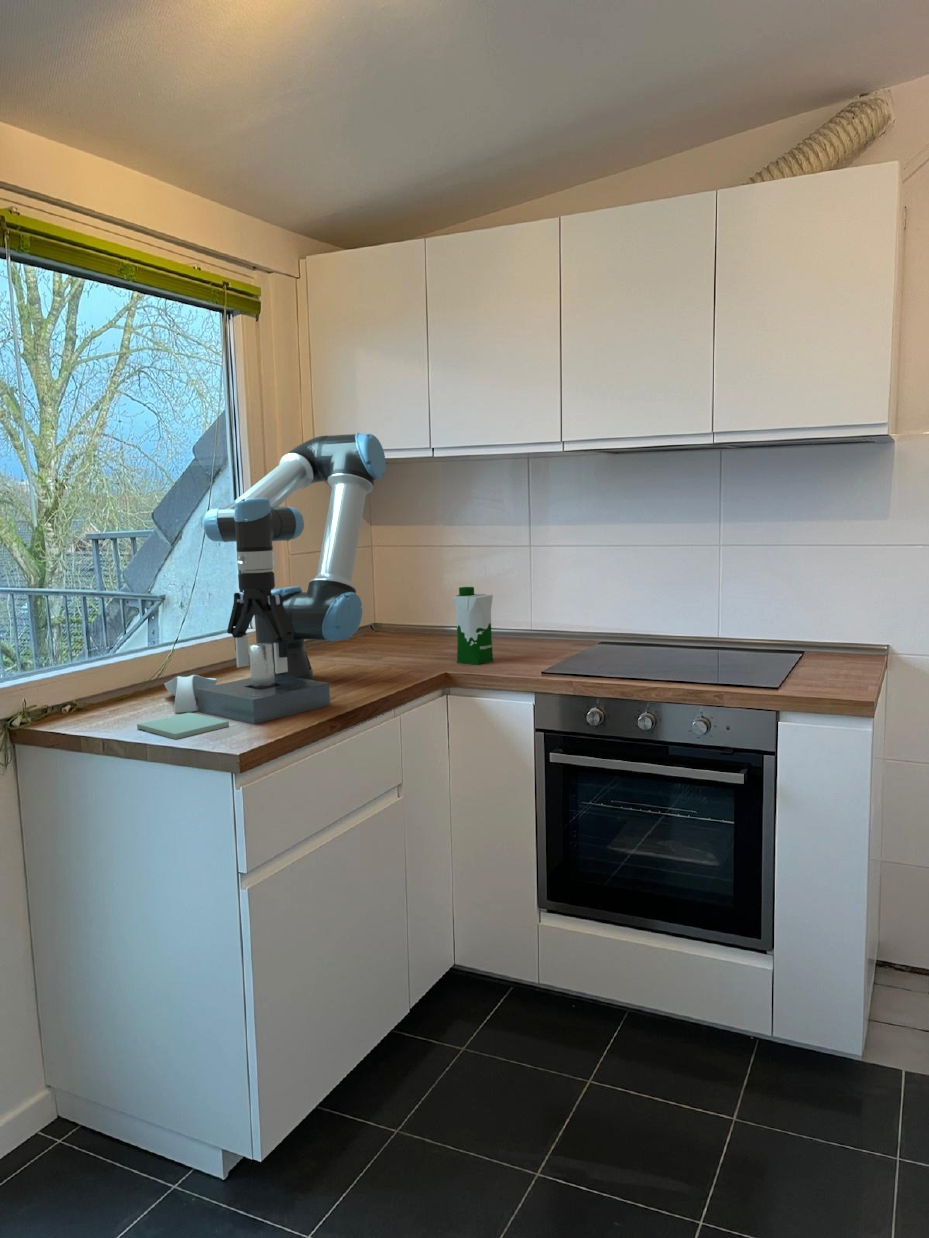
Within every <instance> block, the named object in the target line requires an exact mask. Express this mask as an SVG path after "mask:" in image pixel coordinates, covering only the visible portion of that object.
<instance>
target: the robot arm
mask: <svg viewBox="0 0 929 1238" xmlns="http://www.w3.org/2000/svg"><path fill="white" fill-rule="evenodd" d="M386 462H387V461H386V456H385V451H384V448H383V445H382V443H381V441H380V440H379V439H378V437H376V436H375V435H374V434H372V433H360V432H356V433H354V434H352V433H351V434H334V435H333V434H332V435H320V436H316V437H313V438H311V439H308V440H306V441H304V442H303V443H299V445H297V446H296V447H294V448H292V449H291V450H290V451H288V452H287V453H286V454H284V455H283V456H282V457H280V460H279V464H278V465H277V466H275V468H274V469H272V470H271V471H270V472H268V473H267V474H266V475H265V476H264V477H262V478H261V479H260V480H258V481H257V482H256V483H255V484H254V485H253V486H251V487H250V488H249V489H248V490H246V491H245V492H244V493H242V494H241V495H240V496H239V497H237V498H236V499H235V500H234V501H233V502H231V503H229V504H228V505H227V506H226V507H222V508H221V507H217V508H212V509H209V510H208V511H207V512H206V513H205V515H204V517H203V523H202V524H203V526H202V527H203V530H204V533H205V535H206V537H207V539H209V540H210V541H212V542H220V543H221V542H222V543H229V542H232V543H234V542H236V555H237V558H236V559H237V569H238V570H239V571H240V572H238V574H237V576H238V577H237V581H238V589H239V590H240V591H241V592H240V591H239V592H235V593H233V605H232V610H231V613H230V617H229V621H228V626H227V630H226V633H227V634H229V635H230V634H231V636H232V637H233V638H234V639H233V640H234V650H235V658H236V661H235V662H236V668H243V667H250V658H249V639H248V633H247V631H248V629H249V627H250V625H251V622H252V620H253V618H254V628H255V639H256V641H255V642H256V643H272V644H273V660H274V674H278V675H284V676H290V677H297V678H303V679H309V680H314V670H313V667H312V665H311V663H310V660H309V657H308V654H307V651H306V648H305V641H306V640H307V641H308V640H309V641H328V642H335V641H336V642H337V641H347V640H349V639H350V638H352V636H354V635H355V634H356V632H357V631H358V629H359V628H360V625H361V621H362V617H363V608H362V606H363V604H362V600H361V598H360V596H359V595H358V594H357V589H356V587H355V586H354V584H353V583H352V580H353V575H354V568H355V561H356V556H357V549H358V545H359V544H358V543H359V539H360V534H361V533H360V532H361V526H362V520H363V513H364V508H365V501H366V496H367V495H368V494H369V493H371V492H373V490H374V484H375V481H379V480H382V479H383V477H384V476H385V474H386V471H387V470H386V469H387V468H386V467H387V465H386ZM320 482H327V484H328V485H329V486H330V488H331V493H330V499H329V505H328V510H327V515H326V520H325V521H326V522H325V527H324V532H323V539H322V543H321V548H320V555H319V560H318V564H317V572H316V576H315V577H313V578H312V579H311V580H309V582H308V585H307V591H304V592H303V590H302V587H301V586H299V585H296V586H295V585H294V586H288V587H282V588H281V587H280V588H275V587H276V581H275V580H276V579H275V573H274V571H273V569H274V568H275V561H274V560H275V559H274V547H273V542H280V541H281V542H282V541H287V542H288V541H290V540H295V539H297V538H299V537H300V536H301V535H302V533H303V531H304V528H305V520H304V516H303V513H301V511H300V510H298V509H297V508H295V507H292V506H288V505H283V506H282V504H283V503H284V502H286V501H287V500H288V499H289V498H290V497H291V496H293V495H294V494H295V493H296V492H297V491H298V490H299V489H300V490H301V489H306V488H308V487H309V486H310V485H312V484H314V483H315V484H316V483H320ZM274 588H275V589H274ZM256 643H255V644H256Z"/></svg>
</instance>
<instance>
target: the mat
mask: <svg viewBox="0 0 929 1238" xmlns="http://www.w3.org/2000/svg"><path fill="white" fill-rule="evenodd" d="M229 722H230V721H228V720H224V719H220V718H216V717H212V716H208V715H203V714H197V713H194V712H184V713H180V714H177V715H171V716H167V717H162V718H158V719H155V720H154V719H153V720H149V721H144V722H140V723H137V724H136V728H137V730H139V729H142V730H141V731H143V730H145V731H144V732H148V733H151V732H153V733H152V734H154V733H156V734H155V735H158V736H163V737H167V738H169V739H174V740H178V739H182V738H187V737H191V736H195V735H199V734H203V733H208V732H211V731H215V730H218V729H223V728H226V727H230V723H229Z"/></svg>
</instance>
